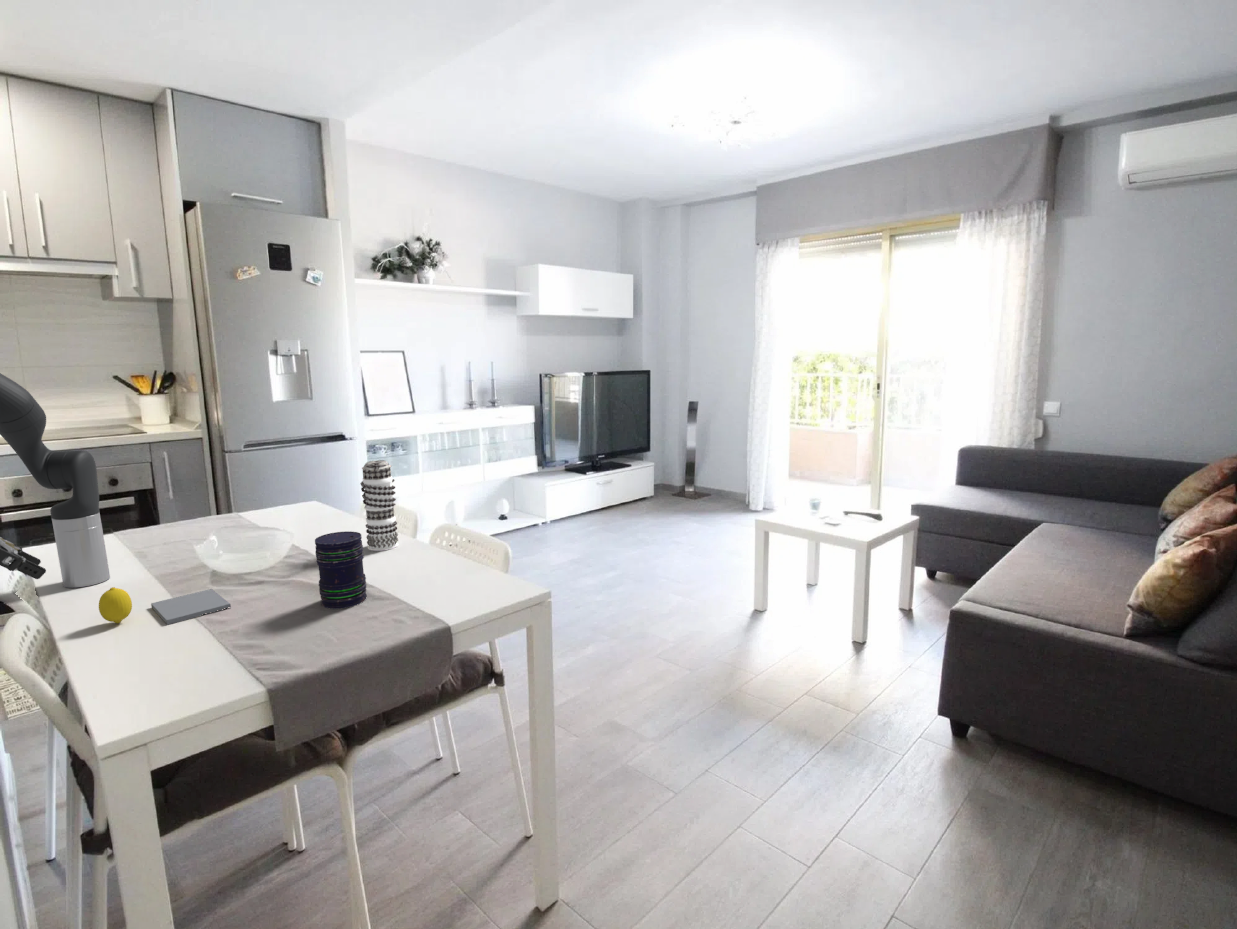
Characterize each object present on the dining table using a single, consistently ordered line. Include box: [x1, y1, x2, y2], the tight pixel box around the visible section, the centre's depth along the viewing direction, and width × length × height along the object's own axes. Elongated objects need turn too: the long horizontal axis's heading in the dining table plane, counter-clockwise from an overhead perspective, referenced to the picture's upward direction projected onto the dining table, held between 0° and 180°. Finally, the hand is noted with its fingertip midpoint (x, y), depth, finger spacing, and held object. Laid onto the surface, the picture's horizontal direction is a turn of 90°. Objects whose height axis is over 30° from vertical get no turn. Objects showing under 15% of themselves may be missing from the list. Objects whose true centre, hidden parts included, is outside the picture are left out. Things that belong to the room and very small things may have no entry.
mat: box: [150, 588, 232, 626], centre depth 147 cm, size 14×12×1 cm
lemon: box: [98, 587, 133, 625], centre depth 138 cm, size 6×6×8 cm
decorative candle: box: [359, 459, 399, 552], centre depth 188 cm, size 9×9×25 cm
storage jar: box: [314, 530, 368, 610], centre depth 148 cm, size 10×10×15 cm
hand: (40, 569), depth 129 cm, fingers open, 8 cm apart
